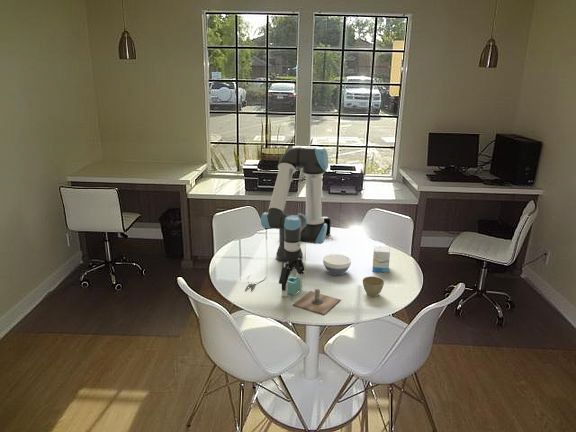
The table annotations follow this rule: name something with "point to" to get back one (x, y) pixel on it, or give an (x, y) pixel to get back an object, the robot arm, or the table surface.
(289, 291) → the collar
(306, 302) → the post block
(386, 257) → the ink box
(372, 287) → the flower pot
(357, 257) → the table surface
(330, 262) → the bowl
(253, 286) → the pliers
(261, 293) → the table surface
